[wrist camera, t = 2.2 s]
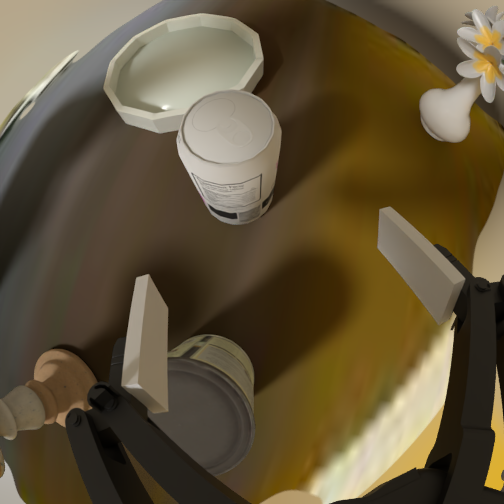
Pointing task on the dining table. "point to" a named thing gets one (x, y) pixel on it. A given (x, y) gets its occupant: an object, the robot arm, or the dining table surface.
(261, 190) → the supplement can
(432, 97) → the flower vase
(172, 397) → the coffee can
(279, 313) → the dining table surface
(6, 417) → the candle holder
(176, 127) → the ceramic bowl
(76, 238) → the dining table surface
